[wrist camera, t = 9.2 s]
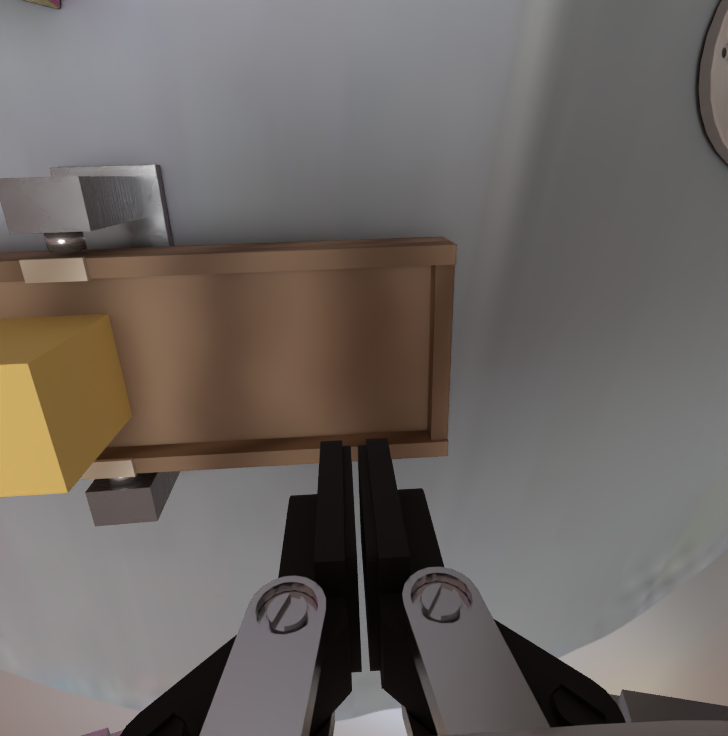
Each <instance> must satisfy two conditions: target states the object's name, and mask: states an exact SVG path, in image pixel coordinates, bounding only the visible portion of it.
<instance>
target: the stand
mask: <svg viewBox="0 0 728 736" xmlns="http://www.w3.org/2000/svg"><path fill="white" fill-rule="evenodd" d="M50 172H51V176H52V177H37V178H2V179H0V201H1V205H2V208H3V212H4V215H5V219H6V222H7V225H8V229H9V232H10V234H31V233H44V237H45V241H46V245H47V248H48V252H51V253H60V252H73V251H80V250H89V249H116V248H144V247H171V246H173V241H172V235H171V229H170V223H169V217H168V211H167V205H166V200H165V194H164V188H163V182H162V176H161V170H160V165H135V166H99V167H63V168H50ZM179 473H180V471H171V472H153V473H137V475H136V476H135V477H122V478H105V479H95V480H94V481H93V483H92V484H91V485H90V487H89V488H88V490H87V491H86V492H85V493H86V496H87V500H88V503H89V507H90V510H91V514H92V517H93V520H94V524H95V526H104V525H116V524H128V523H140V522H151V521H158V519H159V517H160V515H161V512H162V510H163V508H164V506H165V504H166V501H167V499H168V497H169V495H170V493H171V490H172V488H173V486H174V484H175V482H176V479H177V477H178V475H179Z"/></svg>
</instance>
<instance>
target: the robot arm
mask: <svg viewBox="0 0 728 736" xmlns="http://www.w3.org/2000/svg"><path fill="white" fill-rule="evenodd" d="M699 99H700V110H701V115H702V119H703V122H704V126H705V129H706V133H707V135H708V137H709V139H710V141H711V142H712V144H713V146H714V148H715V150H716V151H717V153H718V154H719V155H720V156H721V157H722V158H723V159H724V160H725V161H726V163H727V164H728V0H722V1H721V3H720V5H719V6H718V8H717V11H716V14H715V16H714V19H713V21H712V24H711V26H710V29H709V32H708V34H707V38H706V42H705V46H704V50H703V55H702V59H701V65H700V77H699ZM358 470H359V497H360V524H361V545H362V559H363V574H364V589H365V603H366V618H367V632H368V647H369V661H370V671H379V670H380V673H381V685H382V689H383V688H384V690H385V691H386V692H387V693H389V694H390V695H391V696H392V697H393V698H394V699H396V700H397V701H398V702H399V703H400V704H401V705H402V714H403V720H404V724H405V727H406V731H407V735H408V736H728V706H723V705H717V704H710V703H704V702H698V701H691V700H685V699H679V698H673V697H666V696H660V695H654V694H647V693H641V692H635V691H628V690H622V692H621V695H620V696H617V695H611V694H608V693H607V692H606V690H604V689H603V688H602V687H600V686H599V685H598V684H597V683H595V682H594V681H593V680H591V679H590V678H588V677H586V676H585V675H583V674H582V673H580V672H578V671H577V670H575V669H573V668H572V667H570V666H569V665H567V664H565V663H564V662H562V661H561V660H559V659H557V658H556V657H554V656H553V655H551V654H549V653H548V652H546V651H545V650H543V649H541V648H540V647H538V646H536V645H535V644H533V643H532V642H530V641H528V640H527V639H525V638H524V637H522V636H520V635H519V634H517V633H516V632H514V631H512V630H511V629H509V628H507V627H506V626H504V625H503V624H501V623H499V622H498V621H496V620H495V619H493V617H492V615H491V613H490V612H489V610H488V608H487V606H486V604H485V602H484V600H483V598H482V596H481V594H480V592H479V591H478V589H477V588H476V586H475V585H474V583H473V582H472V581H471V580H470V579H469V578H467V577H466V576H465V575H464V574H462V573H460V572H458V571H456V570H453V569H450V568H445V567H444V564H443V561H442V557H441V553H440V549H439V546H438V542H437V538H436V535H435V531H434V527H433V524H432V520H431V516H430V513H429V509H428V505H427V501H426V498H425V494H424V491H423V489H422V488H420V489H402V490H397V485H396V480H395V475H394V470H393V464H392V459H391V454H390V449H389V443H388V439H387V438H374V439H366V445H358ZM351 672H362V666H361V642H360V619H359V595H358V572H357V551H356V532H355V514H354V496H353V478H352V459H351V446H342V440H336V441H321V442H320V458H319V476H318V494H313V495H295V496H290V499H289V505H288V512H287V519H286V526H285V534H284V541H283V548H282V555H281V563H280V570H279V577H278V578H277V579H274V580H272V581H270V582H269V583H267V584H265V585H263V586H262V587H261V588H260V589H259V590H258V591H257V592H256V593H255V594H254V595H253V597H252V599H251V601H250V602H249V604H248V607H247V610H246V612H245V615H244V618H243V620H242V623H241V626H240V628H239V631H238V634H237V635H236V636H235V637H233V638H232V639H231V640H230V641H228V642H227V643H226V644H225V645H223V646H222V647H221V648H220V649H218V650H217V651H216V652H215V653H213V654H212V655H211V656H210V657H208V658H207V659H206V660H205V661H204V662H202V663H201V664H200V665H199V666H197V667H196V668H195V669H194V670H192V671H191V672H190V673H189V674H187V675H186V676H185V677H184V678H182V679H181V680H180V681H179V682H177V683H176V684H175V685H174V686H172V687H171V688H170V689H169V690H168V691H166V692H165V693H164V694H163V695H161V696H160V697H159V698H158V699H156V700H155V701H154V702H153V703H151V704H150V705H149V706H148V707H146V708H145V709H144V710H143V711H141V712H140V713H139V714H138V715H137V716H136V717H135V718H134V719H133V720H132V721H131V722H130V723H129V724H128V725H127V726H126V728H125V729H124V730H122V731H119V732H116V733H112V734H110V732H109V729H108V728H105V729H102V730H99V731H95V732H92V733H89V734H86V735H82V736H333V733H334V724H335V710H336V709H337V707H338V706H339V705H340V704H341V703H342V702H343V701H344V700H345V699H346V697H347V696H348V695H349V694H350V693H351V691H352V677H351Z"/></svg>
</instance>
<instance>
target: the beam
mask: <svg viewBox="0 0 728 736" xmlns="http://www.w3.org/2000/svg"><path fill="white" fill-rule="evenodd" d="M456 249H457V245H456V244H455V243H453V242H451V241H449V240H447V239H446V238H444V237H420V238H392V239H365V240H337V241H310V242H282V243H254V244H227V245H199V246H171V247H144V248H116V249H89V250H80V251H73V252H60V253H51V252H48V251H33V252H6V253H0V319H5V318H28V317H50V316H73V315H96V314H109V318H110V323H111V327H112V331H113V335H114V340H115V344H116V348H117V353H118V357H119V361H120V365H121V370H122V374H123V378H124V382H125V387H126V391H127V395H128V400H129V404H130V408H131V412H132V417H131V418H130V419H129V421H128V422H127V423H126V424H125V425H124V426H123V428H122V429H121V430H120V431H119V432H118V434H117V435H116V436H115V437H114V438H113V440H112V441H111V442H110V443H109V444H108V446H107V447H106V448H105V449H104V450H103V452H102V453H101V454H100V455H99V456H98V457H97V459H96V460H95V461H94V462H93V463H92V465H91V466H90V467H89V468H88V469H87V471H86V472H85V473H84V474H83V475H82V479H83V480H87V479H105V478H122V477H135V476H136V475H137V473H153V472H171V471H189V470H206V469H224V468H242V467H260V466H278V465H295V464H313V463H319V458H320V442H321V441H336V440H342V446H351V459H352V461H358V445H366V439H374V438H387V439H388V443H389V449H390V454H391V459H402V458H420V457H438V456H448V414H449V390H450V366H451V342H452V318H453V293H454V269H455V265H456Z"/></svg>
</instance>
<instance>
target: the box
mask: <svg viewBox="0 0 728 736" xmlns="http://www.w3.org/2000/svg"><path fill="white" fill-rule="evenodd" d="M25 1H29V2H33V3H37V4H41V5H45V6H49V7H53V8H57V9H58V8H60V0H25Z"/></svg>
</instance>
